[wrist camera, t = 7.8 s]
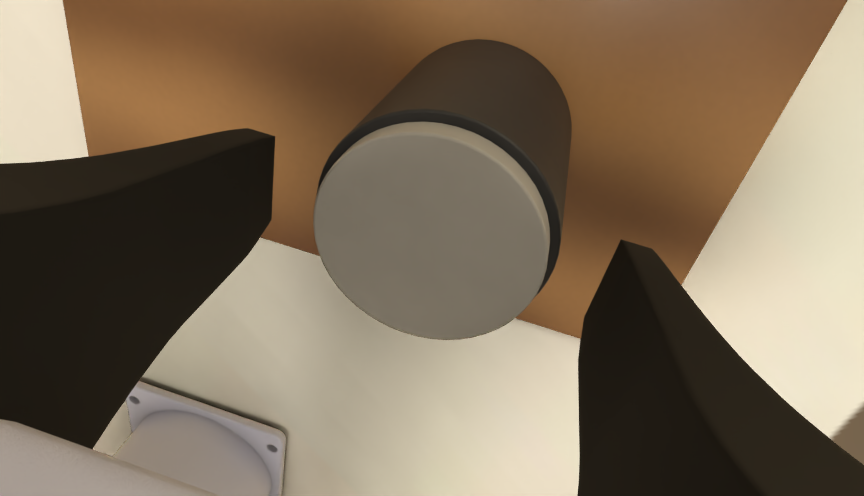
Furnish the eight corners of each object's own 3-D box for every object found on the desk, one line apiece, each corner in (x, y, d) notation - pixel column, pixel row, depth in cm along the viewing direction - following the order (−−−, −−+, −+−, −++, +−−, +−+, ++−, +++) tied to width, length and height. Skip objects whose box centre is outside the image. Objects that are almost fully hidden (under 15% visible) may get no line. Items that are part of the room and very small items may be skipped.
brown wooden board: (638, 349, 19) (639, 358, 19) (100, 179, 21) (93, 184, 20) (863, -41, 12) (871, -38, 12) (34, -244, 14) (20, -248, 14)
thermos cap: (539, 231, 17) (515, 377, 12) (382, 183, 18) (295, 305, 12) (599, 68, 14) (601, 169, 9) (410, 16, 15) (312, 85, 10)
